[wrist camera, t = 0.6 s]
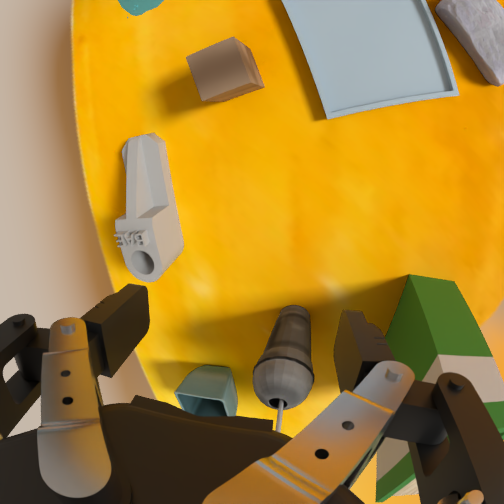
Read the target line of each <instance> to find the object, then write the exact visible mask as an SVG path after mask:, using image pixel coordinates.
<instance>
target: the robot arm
mask: <svg viewBox="0 0 504 504" xmlns="http://www.w3.org/2000/svg"><path fill="white" fill-rule="evenodd" d="M149 324H150V317H149V303H148V290H147V288H146V286H141V285H135V284H127V285H126V286H125V287H124V288H123V289H121V290H120V291H119V292H118V293H115V294H113V295H110V296H107V297H106V298H105V299H103V300H102V301H101V302H100V303H98V304H97V305H96V306H95V307H93V308H92V309H91V310H90V311H88V312H87V313H86V314H85V315H83V316H82V317H81V318H80V319H79V318H74V317H68V318H63V319H60V320H57V321H56V322H54V323H53V324H52V325H51V327H50V329H47V328H37V326H36V322H35V318H34V317H33V316H32V315H29V314H18V315H14V316H12V317H10V318H8V319H7V320H6V321H4V322H3V323H2V324H0V504H364V502H362V501H361V500H360V499H359V498H358V497H357V496H356V495H354V493H352V492H351V491H350V490H349V489H350V488H351V487H352V485H353V484H354V483H355V481H356V480H357V478H358V477H359V475H360V474H361V473H362V471H363V470H364V469H365V467H366V466H367V465H368V463H369V462H370V461H371V459H372V458H373V456H374V455H375V454H376V452H377V451H378V449H379V448H380V446H381V445H382V443H383V442H384V440H385V439H386V437H388V438H393V439H398V440H403V441H407V443H408V447H409V451H410V455H411V459H412V463H413V468H414V472H415V477H416V482H417V486H418V491H419V496H420V502H421V504H504V441H503V439H502V437H501V435H500V433H499V431H498V429H497V427H496V425H495V423H494V422H493V420H492V418H491V416H490V414H489V412H488V411H487V409H486V407H485V405H484V403H483V402H482V400H481V398H480V396H479V395H478V393H477V391H476V390H475V388H474V386H473V385H472V383H471V382H470V381H469V380H468V379H467V378H466V377H464V376H463V375H460V374H458V373H453V372H446V373H443V374H441V375H440V376H439V377H438V379H437V381H436V384H434V383H428V382H423V381H418V380H415V375H414V372H413V371H412V370H411V369H410V368H409V367H408V366H406V365H405V364H403V363H400V362H397V361H396V360H395V358H394V356H393V354H392V352H391V350H390V348H389V346H388V345H387V344H388V343H387V341H386V339H384V338H385V337H384V335H383V333H382V332H381V330H380V329H379V328H378V327H376V326H375V325H374V324H371V323H367V321H366V319H365V317H364V315H363V312H362V311H355V310H343V311H342V314H341V318H340V323H339V327H338V332H337V336H336V340H335V345H334V362H335V367H336V372H337V377H338V382H339V387H340V393H341V394H340V395H339V396H338V397H337V398H336V399H335V400H334V401H333V402H332V403H331V404H330V405H329V406H328V407H327V408H326V409H325V410H324V411H323V412H322V413H321V414H319V415H318V416H317V417H316V418H315V419H314V420H313V421H312V422H311V423H310V424H309V425H308V426H306V427H305V428H304V429H303V430H302V431H301V432H300V433H299V434H297V435H296V436H295V437H294V438H291V437H289V436H287V435H285V434H282V433H280V432H277V431H274V430H272V428H273V420H267V419H258V418H249V417H242V416H211V417H203V416H197V415H194V414H191V413H189V412H187V411H184V410H182V409H180V408H177V407H175V406H173V405H171V404H168V403H166V402H161V401H157V400H153V399H149V398H145V397H141V396H138V395H135V397H134V398H133V400H132V402H131V403H116V404H109V405H104V404H103V400H102V395H101V392H100V387H99V382H98V379H97V377H98V376H99V375H104V376H107V377H110V378H112V377H113V375H114V374H115V373H116V372H117V370H118V369H119V368H120V366H121V365H122V364H123V363H124V361H125V360H126V359H127V357H128V356H129V355H130V354H131V352H132V351H133V350H134V349H135V347H136V346H137V345H138V344H139V342H140V341H141V340H142V338H143V337H144V336H145V335H146V333H147V332H148V329H149ZM13 357H14V358H15V360H16V363H17V366H18V368H19V370H18V371H17V372H16V373H15V374H14V375H13V376H12V377H11V378H10V379H9V380H8V381H7V382H6V383H5V381H4V378H3V368H4V366H5V365H6V364H7V363H8V362H9V361H10V360H11V359H12V358H13ZM40 395H41V426H39V427H38V428H37V429H34V430H31V431H27V432H24V433H21V434H18V435H14V436H11V437H7V436H8V435H9V434H10V432H11V431H12V430H13V429H14V427H15V426H16V425H17V424H18V422H19V421H20V420H21V419H22V417H23V416H24V415H25V413H26V412H27V411H28V410H29V409H30V407H31V406H32V405H33V404H34V403H35V401H36V400H37V399H38V398H39V397H40ZM447 435H448V437H449V440H448V438H447ZM449 442H450V443H449Z"/></svg>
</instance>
